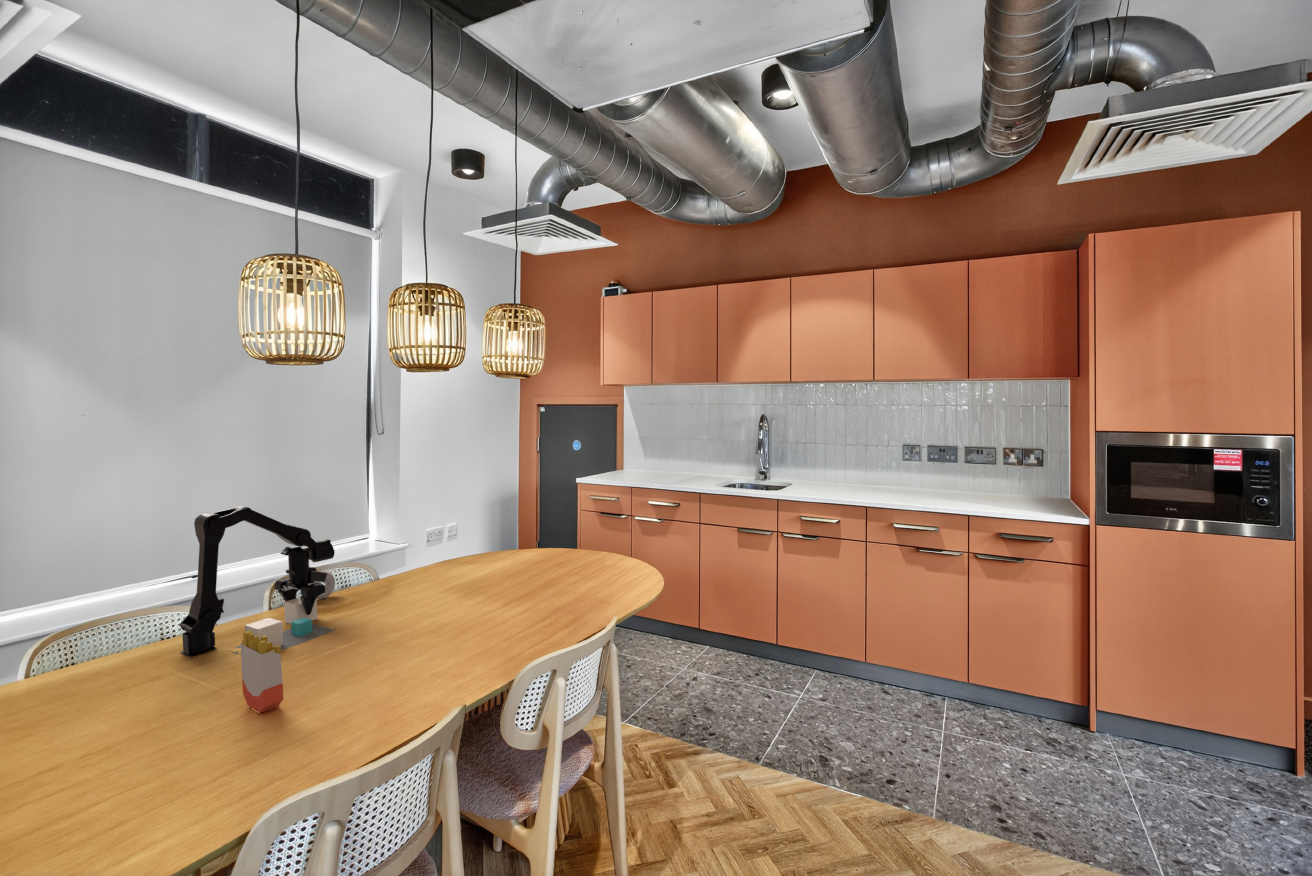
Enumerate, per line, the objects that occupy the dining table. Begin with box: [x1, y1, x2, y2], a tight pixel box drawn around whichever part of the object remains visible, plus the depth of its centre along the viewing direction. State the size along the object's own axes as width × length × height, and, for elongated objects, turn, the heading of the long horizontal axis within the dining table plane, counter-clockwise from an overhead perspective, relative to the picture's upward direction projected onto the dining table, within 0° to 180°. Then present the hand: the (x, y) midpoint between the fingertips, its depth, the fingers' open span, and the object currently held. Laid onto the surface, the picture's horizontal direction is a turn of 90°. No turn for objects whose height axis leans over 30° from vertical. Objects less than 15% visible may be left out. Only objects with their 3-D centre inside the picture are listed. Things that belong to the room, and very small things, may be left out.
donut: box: [309, 571, 336, 600], centre depth 215 cm, size 10×4×10 cm, turn 157°
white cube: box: [244, 617, 284, 647], centre depth 173 cm, size 7×7×7 cm
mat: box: [234, 623, 336, 655], centre depth 178 cm, size 24×14×1 cm, turn 153°
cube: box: [290, 618, 313, 637], centre depth 182 cm, size 4×4×4 cm
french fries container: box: [240, 631, 284, 714], centre depth 139 cm, size 5×11×18 cm, turn 56°
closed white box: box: [283, 596, 318, 625], centre depth 193 cm, size 7×7×7 cm
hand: (300, 612), depth 193 cm, fingers open, 8 cm apart
